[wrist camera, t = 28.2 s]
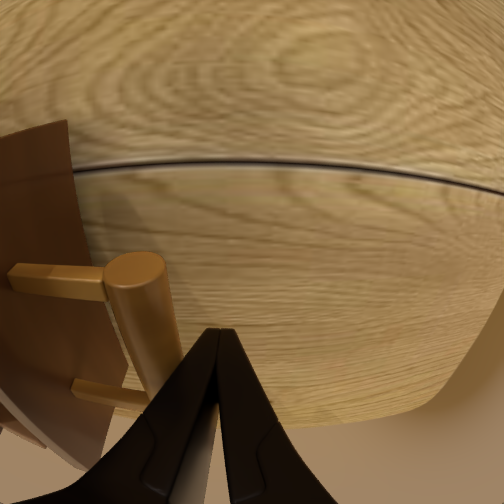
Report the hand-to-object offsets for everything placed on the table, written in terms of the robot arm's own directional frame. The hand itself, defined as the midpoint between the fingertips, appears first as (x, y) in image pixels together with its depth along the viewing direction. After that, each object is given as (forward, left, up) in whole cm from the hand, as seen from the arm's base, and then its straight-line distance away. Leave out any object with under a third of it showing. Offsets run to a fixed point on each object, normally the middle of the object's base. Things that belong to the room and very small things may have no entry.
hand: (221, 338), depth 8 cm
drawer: (+10, 0, -3) cm, 11 cm away
